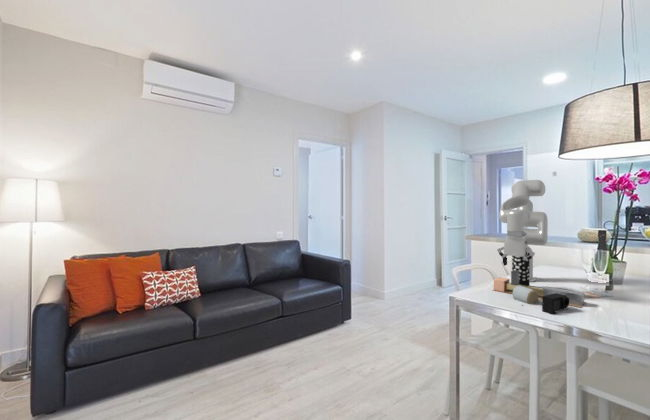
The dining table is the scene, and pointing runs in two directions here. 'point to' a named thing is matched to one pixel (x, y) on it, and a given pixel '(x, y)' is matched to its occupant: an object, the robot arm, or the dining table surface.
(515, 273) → the hammer
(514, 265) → the spotted tube
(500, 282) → the terracotta socket
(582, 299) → the metal sleeve
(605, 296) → the dining table surface
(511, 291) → the walnut board
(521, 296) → the ceramic mug
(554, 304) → the digital camera
